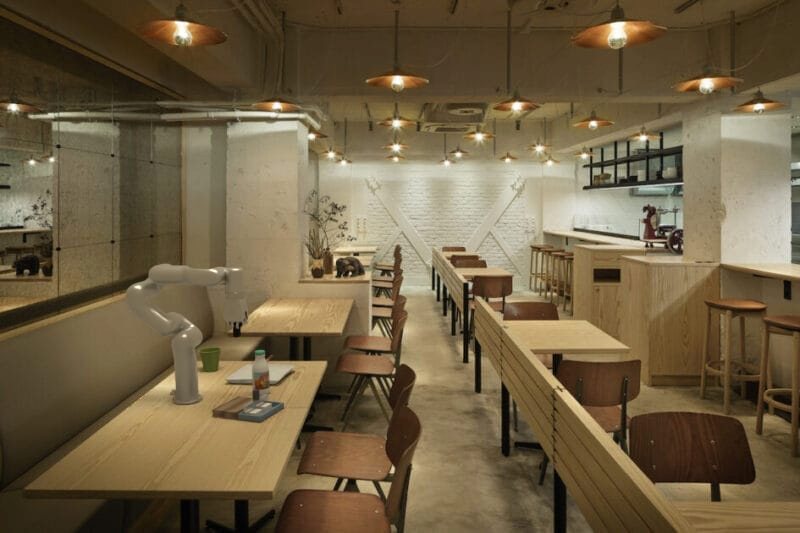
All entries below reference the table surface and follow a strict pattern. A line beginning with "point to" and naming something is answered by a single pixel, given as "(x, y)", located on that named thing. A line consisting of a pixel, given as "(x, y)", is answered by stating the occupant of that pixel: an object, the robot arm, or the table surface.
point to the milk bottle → (260, 373)
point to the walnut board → (231, 408)
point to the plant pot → (210, 358)
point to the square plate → (246, 373)
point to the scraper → (255, 400)
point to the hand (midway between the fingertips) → (237, 336)
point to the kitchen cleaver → (269, 358)
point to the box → (265, 415)
